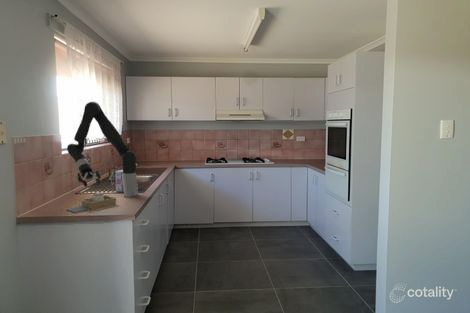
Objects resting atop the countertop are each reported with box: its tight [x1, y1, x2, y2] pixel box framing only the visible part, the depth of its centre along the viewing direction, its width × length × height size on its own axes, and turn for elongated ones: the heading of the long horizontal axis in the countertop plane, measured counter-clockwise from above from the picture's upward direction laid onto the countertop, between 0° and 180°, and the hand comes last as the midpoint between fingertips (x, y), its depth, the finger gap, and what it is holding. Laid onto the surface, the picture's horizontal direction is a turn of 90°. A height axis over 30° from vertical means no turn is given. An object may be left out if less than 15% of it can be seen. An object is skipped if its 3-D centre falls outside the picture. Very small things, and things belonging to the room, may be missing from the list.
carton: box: [79, 194, 120, 212], centre depth 219 cm, size 17×22×4 cm
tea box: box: [92, 192, 104, 202], centre depth 219 cm, size 5×5×8 cm
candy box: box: [114, 169, 124, 193], centre depth 266 cm, size 14×6×16 cm, turn 164°
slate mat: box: [66, 205, 90, 214], centre depth 208 cm, size 9×12×1 cm
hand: (92, 185), depth 222 cm, fingers open, 8 cm apart
